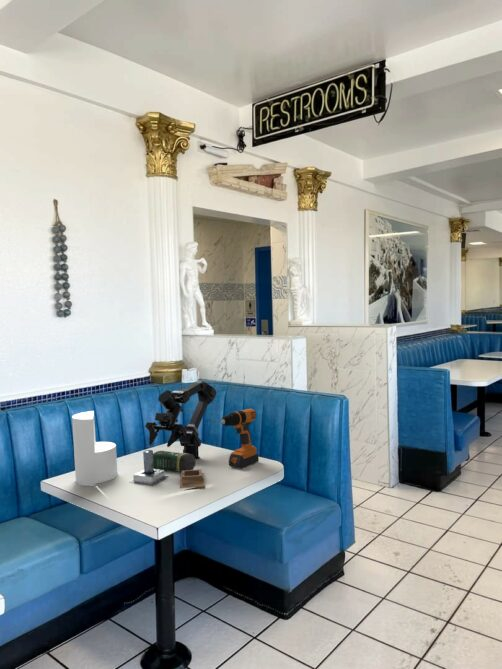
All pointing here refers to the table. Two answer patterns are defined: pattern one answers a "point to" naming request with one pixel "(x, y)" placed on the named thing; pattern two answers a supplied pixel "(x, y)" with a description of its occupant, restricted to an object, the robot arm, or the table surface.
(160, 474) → the socket stand
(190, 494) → the table surface
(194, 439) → the robot arm
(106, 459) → the stepped white column
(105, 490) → the table surface
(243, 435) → the power drill
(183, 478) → the wooden tray
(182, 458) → the coffee jar
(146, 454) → the metal rod
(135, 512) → the table surface
